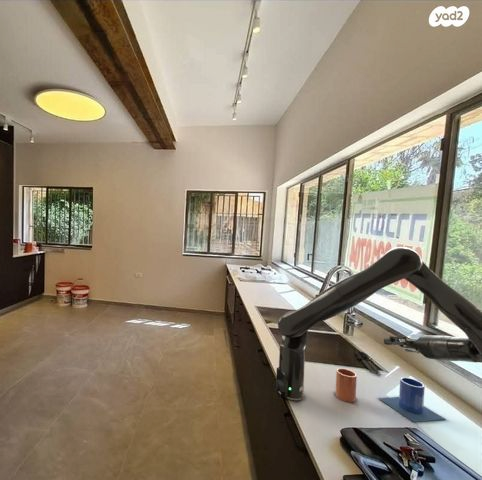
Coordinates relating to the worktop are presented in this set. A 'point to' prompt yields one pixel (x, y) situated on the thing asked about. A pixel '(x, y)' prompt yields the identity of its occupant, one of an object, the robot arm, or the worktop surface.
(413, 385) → the blue cup
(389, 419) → the worktop surface
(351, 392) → the terracotta cup
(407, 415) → the blue mat
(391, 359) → the worktop surface
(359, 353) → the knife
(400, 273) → the robot arm
